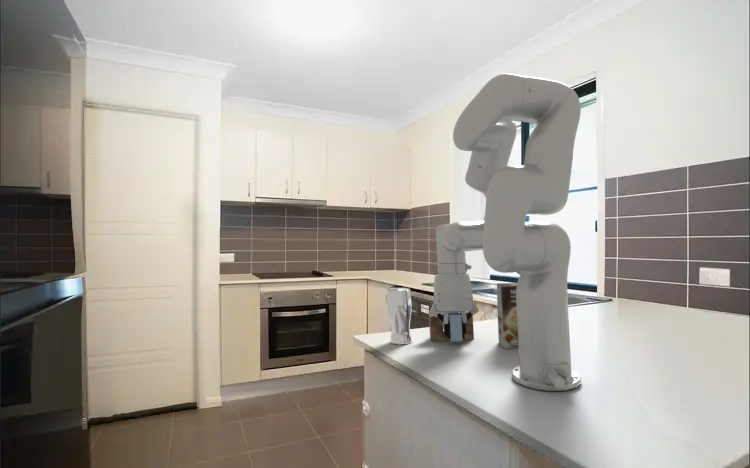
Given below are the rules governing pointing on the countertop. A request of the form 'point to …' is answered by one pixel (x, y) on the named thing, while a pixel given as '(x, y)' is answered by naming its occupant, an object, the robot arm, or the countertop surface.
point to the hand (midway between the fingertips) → (455, 336)
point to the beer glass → (399, 314)
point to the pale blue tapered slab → (455, 326)
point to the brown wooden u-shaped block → (438, 332)
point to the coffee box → (507, 315)
